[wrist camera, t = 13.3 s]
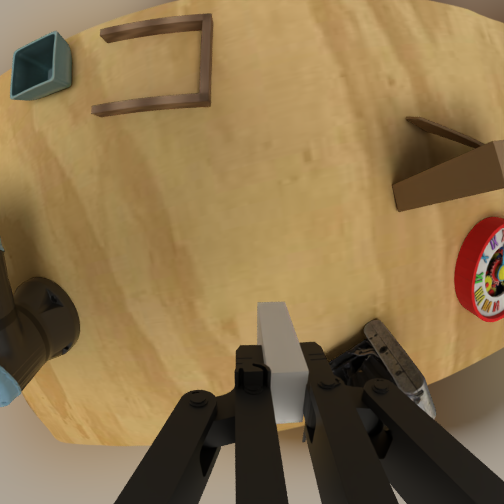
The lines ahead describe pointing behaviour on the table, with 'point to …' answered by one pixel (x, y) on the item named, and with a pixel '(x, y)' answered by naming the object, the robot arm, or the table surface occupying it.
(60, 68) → the flower pot
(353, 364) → the vintage camera
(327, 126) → the table surface
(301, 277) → the table surface
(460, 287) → the toy clock
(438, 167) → the photo frame
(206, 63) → the wooden tray rim
